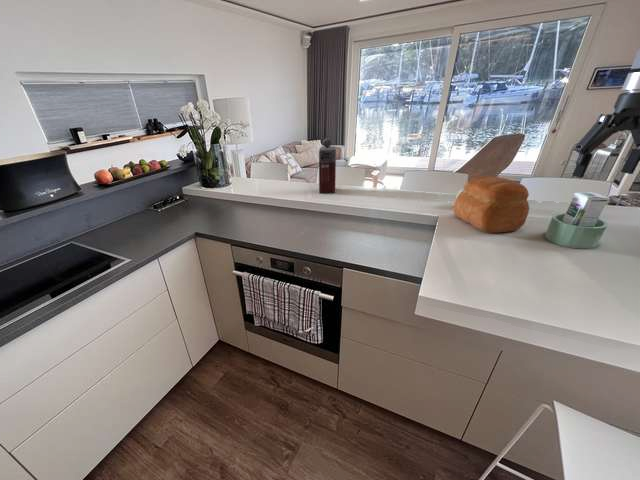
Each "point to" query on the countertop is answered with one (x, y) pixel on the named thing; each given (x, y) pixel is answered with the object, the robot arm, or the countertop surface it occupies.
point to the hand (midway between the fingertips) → (601, 174)
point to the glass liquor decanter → (327, 167)
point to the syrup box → (585, 209)
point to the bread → (493, 204)
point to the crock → (574, 233)
